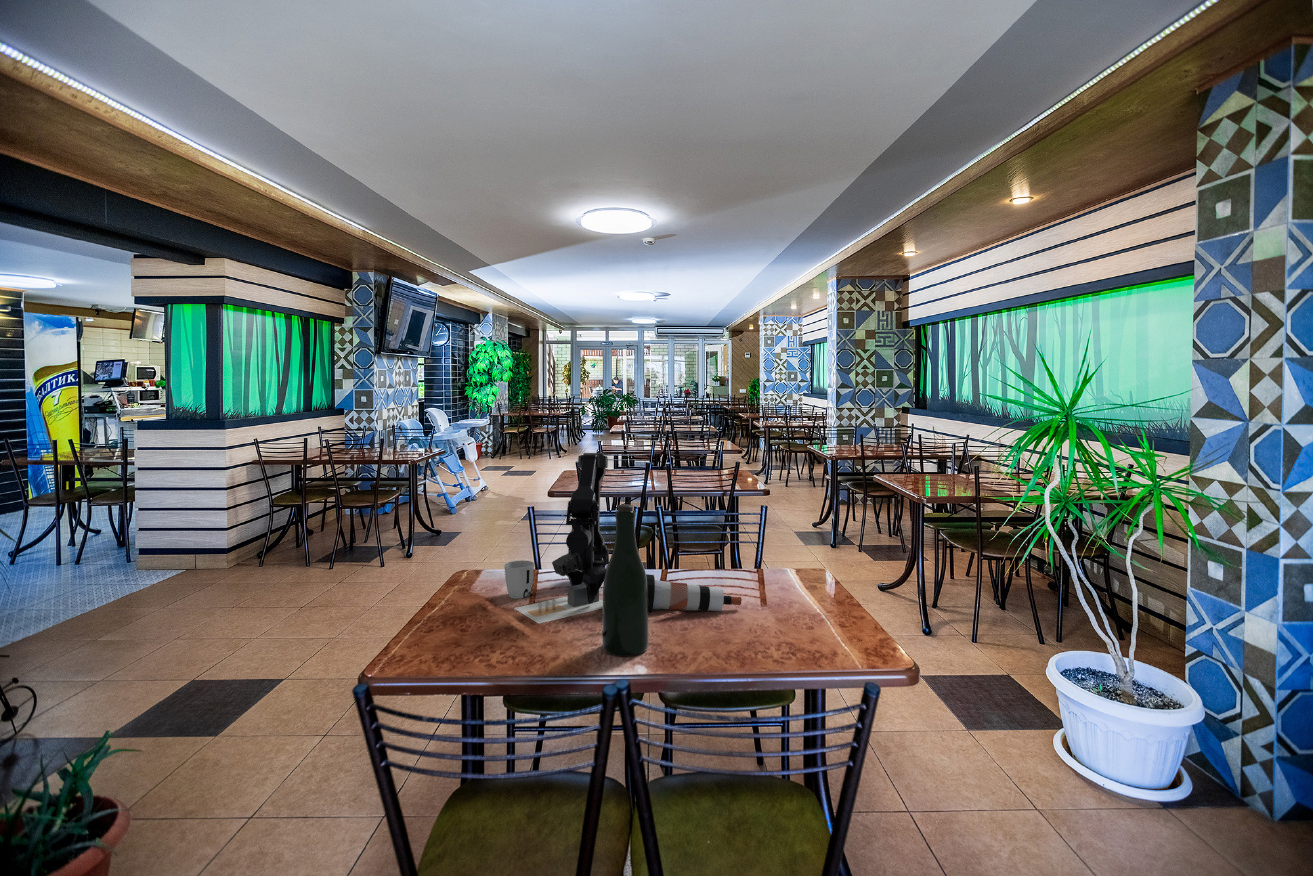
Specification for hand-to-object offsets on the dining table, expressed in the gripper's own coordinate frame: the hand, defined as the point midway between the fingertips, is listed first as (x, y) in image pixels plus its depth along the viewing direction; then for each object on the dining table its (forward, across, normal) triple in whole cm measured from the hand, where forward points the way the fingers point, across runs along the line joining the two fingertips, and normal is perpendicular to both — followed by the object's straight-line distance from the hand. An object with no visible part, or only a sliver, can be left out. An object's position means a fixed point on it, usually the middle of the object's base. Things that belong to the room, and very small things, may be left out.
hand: (583, 600), depth 176 cm
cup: (+2, -16, -11) cm, 20 cm away
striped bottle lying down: (+2, +18, +18) cm, 25 cm away
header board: (+2, 0, -6) cm, 6 cm away
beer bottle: (+2, +30, -7) cm, 31 cm away
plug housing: (+1, 0, 0) cm, 1 cm away
